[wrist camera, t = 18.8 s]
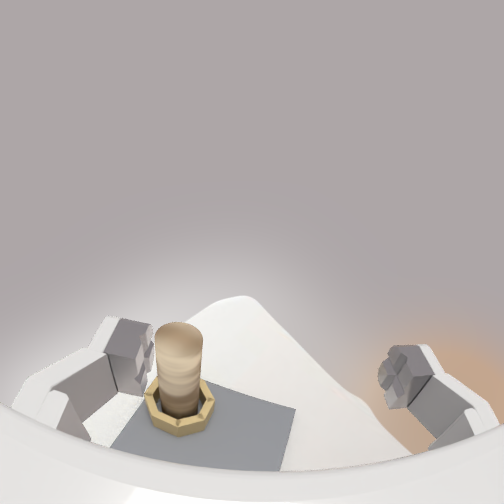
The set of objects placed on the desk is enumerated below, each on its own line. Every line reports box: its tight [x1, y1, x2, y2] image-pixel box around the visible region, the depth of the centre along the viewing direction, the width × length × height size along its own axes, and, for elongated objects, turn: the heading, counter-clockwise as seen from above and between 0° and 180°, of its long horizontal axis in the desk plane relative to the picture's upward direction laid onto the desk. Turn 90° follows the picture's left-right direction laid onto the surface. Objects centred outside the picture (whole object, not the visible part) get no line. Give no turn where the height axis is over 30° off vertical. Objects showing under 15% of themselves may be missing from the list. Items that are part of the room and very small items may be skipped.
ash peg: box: [155, 322, 203, 420], centre depth 32 cm, size 5×5×14 cm
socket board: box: [110, 376, 296, 471], centre depth 32 cm, size 17×20×4 cm
